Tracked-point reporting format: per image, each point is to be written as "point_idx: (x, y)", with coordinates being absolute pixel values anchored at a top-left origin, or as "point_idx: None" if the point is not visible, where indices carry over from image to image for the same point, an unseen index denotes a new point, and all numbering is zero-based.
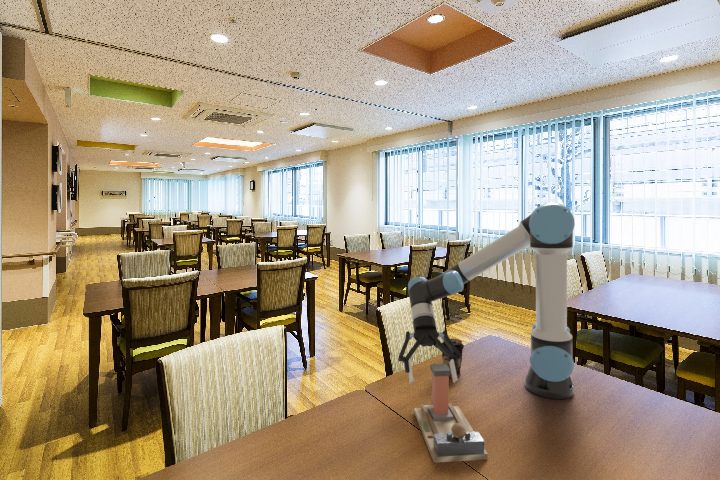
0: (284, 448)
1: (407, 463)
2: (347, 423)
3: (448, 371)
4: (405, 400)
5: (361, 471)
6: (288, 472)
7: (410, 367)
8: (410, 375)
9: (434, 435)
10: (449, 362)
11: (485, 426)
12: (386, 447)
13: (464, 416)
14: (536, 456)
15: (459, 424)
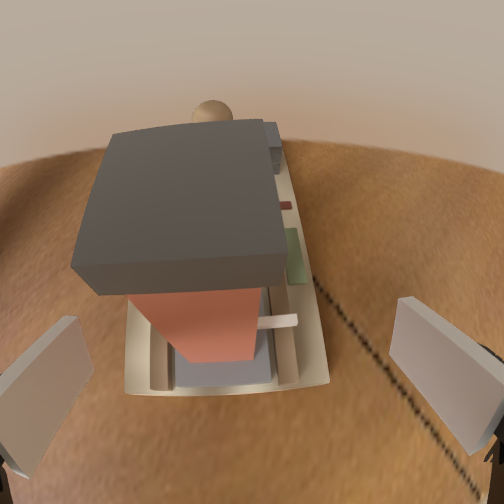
0: None
1: (339, 161)
2: (496, 297)
3: (132, 138)
4: (352, 475)
5: (414, 156)
6: (495, 172)
7: (470, 344)
8: (435, 314)
9: (280, 141)
10: (27, 473)
11: (84, 287)
12: (393, 205)
13: (127, 314)
14: (58, 184)
15: (209, 102)
